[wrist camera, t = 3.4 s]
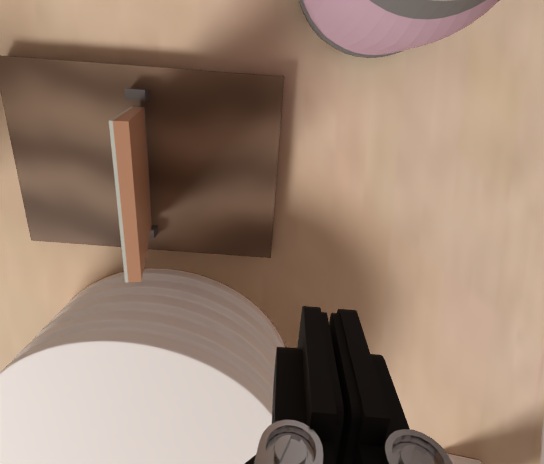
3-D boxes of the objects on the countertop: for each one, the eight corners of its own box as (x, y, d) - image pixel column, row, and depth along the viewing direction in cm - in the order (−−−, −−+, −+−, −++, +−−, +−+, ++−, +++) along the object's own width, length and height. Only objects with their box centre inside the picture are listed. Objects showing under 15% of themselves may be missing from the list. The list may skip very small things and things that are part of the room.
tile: (145, 106, 29) (132, 105, 29) (128, 121, 19) (108, 120, 19) (152, 220, 33) (141, 220, 33) (141, 281, 23) (125, 282, 23)
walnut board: (6, 56, 30) (-19, 53, 27) (283, 76, 30) (284, 76, 27) (40, 234, 36) (22, 245, 33) (270, 251, 36) (270, 263, 33)
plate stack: (245, 237, 36) (229, 302, 25) (316, 431, 46) (326, 536, 35) (4, 304, 39) (-99, 385, 29) (118, 469, 49) (74, 575, 39)
